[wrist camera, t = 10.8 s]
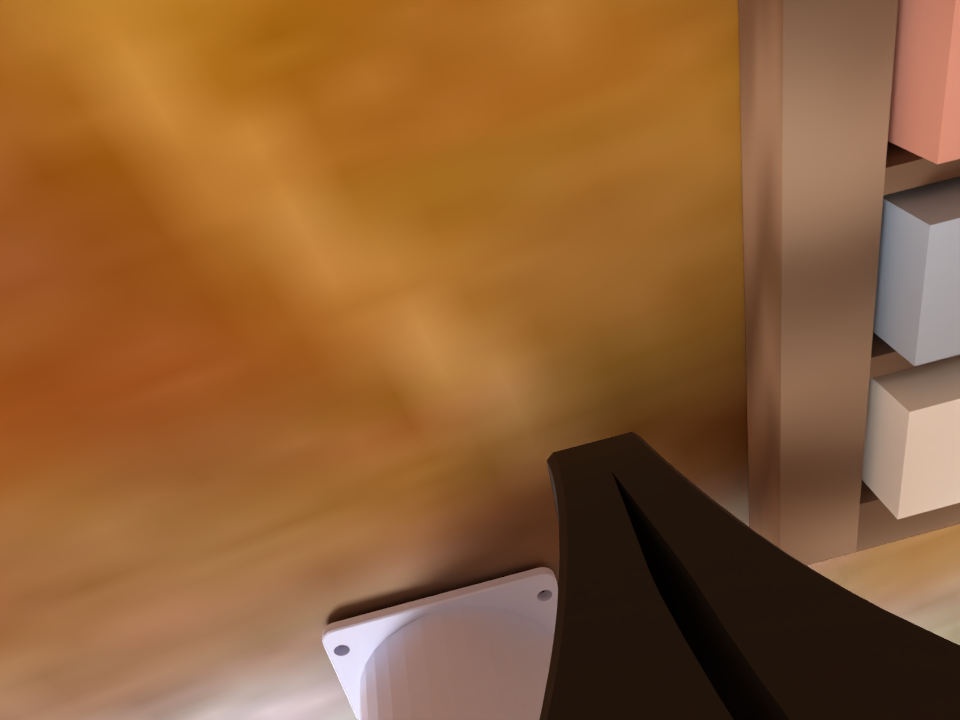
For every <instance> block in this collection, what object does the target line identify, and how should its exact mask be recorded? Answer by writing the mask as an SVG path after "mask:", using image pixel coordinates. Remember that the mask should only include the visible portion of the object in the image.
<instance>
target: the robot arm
mask: <svg viewBox="0 0 960 720" xmlns="http://www.w3.org/2000/svg"><path fill="white" fill-rule="evenodd" d="M547 464H548V469H549V474H550V480H551V485H552V490H553V495H554V500H555V506H556V511H557V516H558V521H559V541H560V567H559V584H558V585H557V581H556V578H555V575H554V573H553V571H552V570H551V569H549V568H546V567H540V568H535V569H531V570H527V571H524V572H520V573H516V574H512V575H509V576H505V577H501V578H497V579H494V580H490V581H486V582H483V583H479V584H475V585H471V586H468V587H464V588H460V589H456V590H453V591H449V592H445V593H441V594H438V595H434V596H430V597H427V598H423V599H419V600H415V601H412V602H408V603H404V604H400V605H397V606H393V607H389V608H385V609H382V610H378V611H374V612H371V613H367V614H363V615H359V616H356V617H352V618H348V619H344V620H341V621H337V622H333V623H331V624H329V625H327V626H326V627H325V628H324V629H323V632H322V642H323V645H324V647H325V650H326V652H327V654H328V656H329V658H330V661H331V663H332V665H333V667H334V669H335V672H336V674H337V676H338V678H339V680H340V683H341V685H342V687H343V689H344V692H345V694H346V696H347V698H348V700H349V703H350V705H351V707H352V709H353V711H354V714H355V716H356V718H357V720H960V645H958V644H955V643H953V642H951V641H949V640H946V639H944V638H942V637H940V636H938V635H936V634H934V633H932V632H930V631H928V630H925V629H923V628H921V627H919V626H917V625H915V624H913V623H911V622H909V621H907V620H904V619H902V618H900V617H898V616H896V615H894V614H892V613H890V612H888V611H886V610H883V609H882V608H880V607H878V606H876V605H874V604H872V603H870V602H869V601H867V600H865V599H863V598H861V597H859V596H857V595H856V594H854V593H852V592H850V591H848V590H847V589H845V588H843V587H841V586H840V585H838V584H836V583H835V582H833V581H831V580H829V579H828V578H826V577H824V576H822V575H821V574H819V573H817V572H816V571H814V570H813V569H811V568H809V567H808V566H806V565H804V564H803V563H801V562H800V561H798V560H797V559H795V558H794V557H792V556H790V555H789V554H787V553H786V552H784V551H783V550H781V549H780V548H778V547H777V546H776V545H774V544H773V543H771V542H770V541H768V540H767V539H765V538H764V537H762V536H761V535H759V534H758V533H757V532H755V531H754V530H752V529H751V528H750V527H748V526H747V525H745V524H744V523H743V522H741V521H740V520H739V519H737V518H736V517H735V516H733V515H732V514H731V513H729V512H728V511H727V510H726V509H724V508H723V507H722V506H720V505H719V504H718V503H717V502H715V501H714V500H713V499H711V498H710V497H709V496H707V495H706V494H705V493H704V492H702V491H701V490H700V489H699V488H698V487H696V486H695V485H694V484H693V483H691V482H690V481H689V480H688V479H687V478H686V477H684V476H683V475H682V474H681V473H680V472H679V471H677V470H676V469H675V468H674V467H673V466H672V465H670V464H669V463H668V462H667V461H666V460H665V459H664V458H663V457H661V456H660V455H659V454H658V453H657V452H656V451H655V450H654V449H653V448H652V447H651V446H649V445H648V444H647V443H646V442H645V441H644V440H643V439H642V438H641V437H640V436H638V435H637V434H635V433H633V432H630V433H626V434H622V435H619V436H615V437H611V438H607V439H603V440H600V441H596V442H592V443H588V444H584V445H581V446H577V447H573V448H569V449H565V450H561V451H558V452H554V453H553V454H552V455H551V456H550V457H549V459H548V460H547ZM543 590H547V591H545V592H542V593H539V592H541V591H543ZM339 645H345V646H339Z"/></svg>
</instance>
